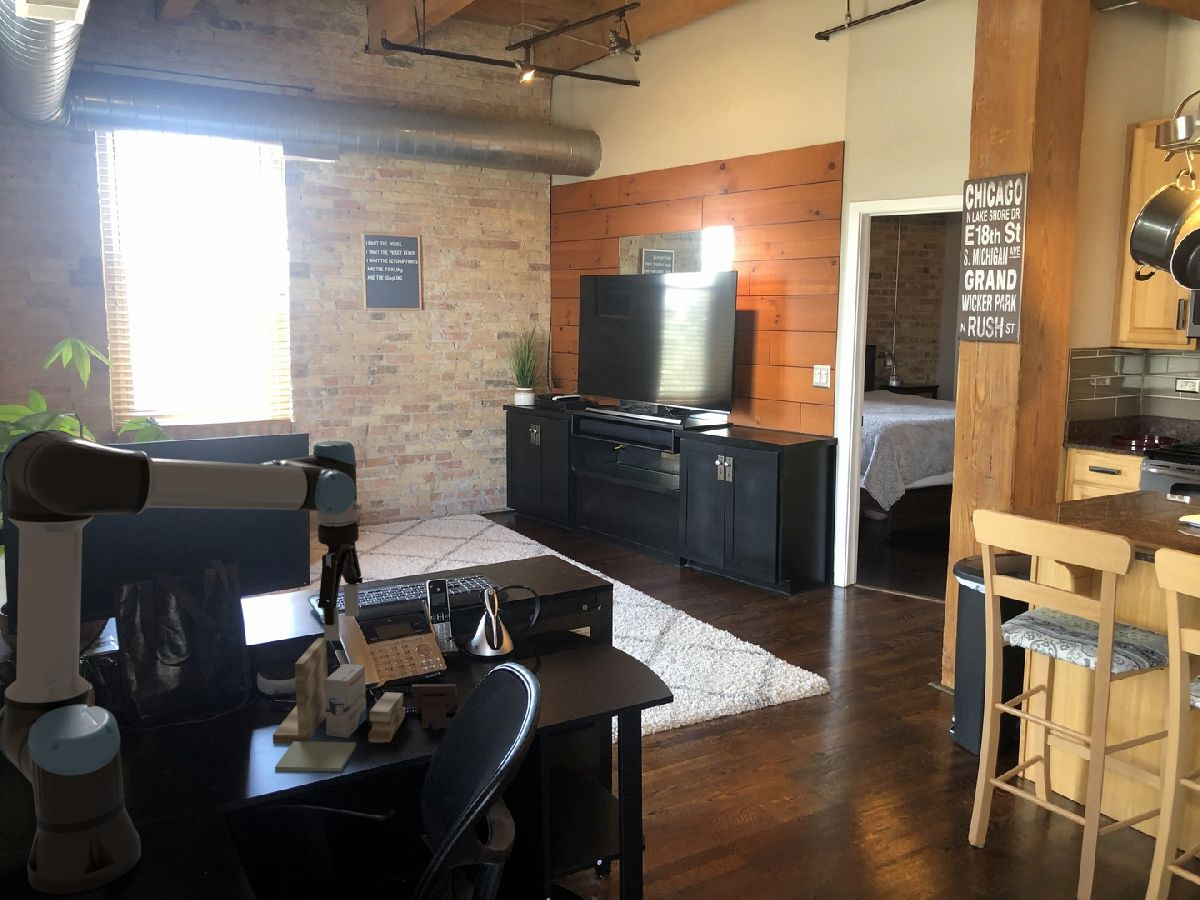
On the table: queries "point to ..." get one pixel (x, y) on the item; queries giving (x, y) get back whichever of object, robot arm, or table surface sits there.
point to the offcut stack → (386, 717)
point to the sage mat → (316, 756)
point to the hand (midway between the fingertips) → (342, 627)
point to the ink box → (345, 700)
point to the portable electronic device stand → (435, 702)
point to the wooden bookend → (307, 696)
